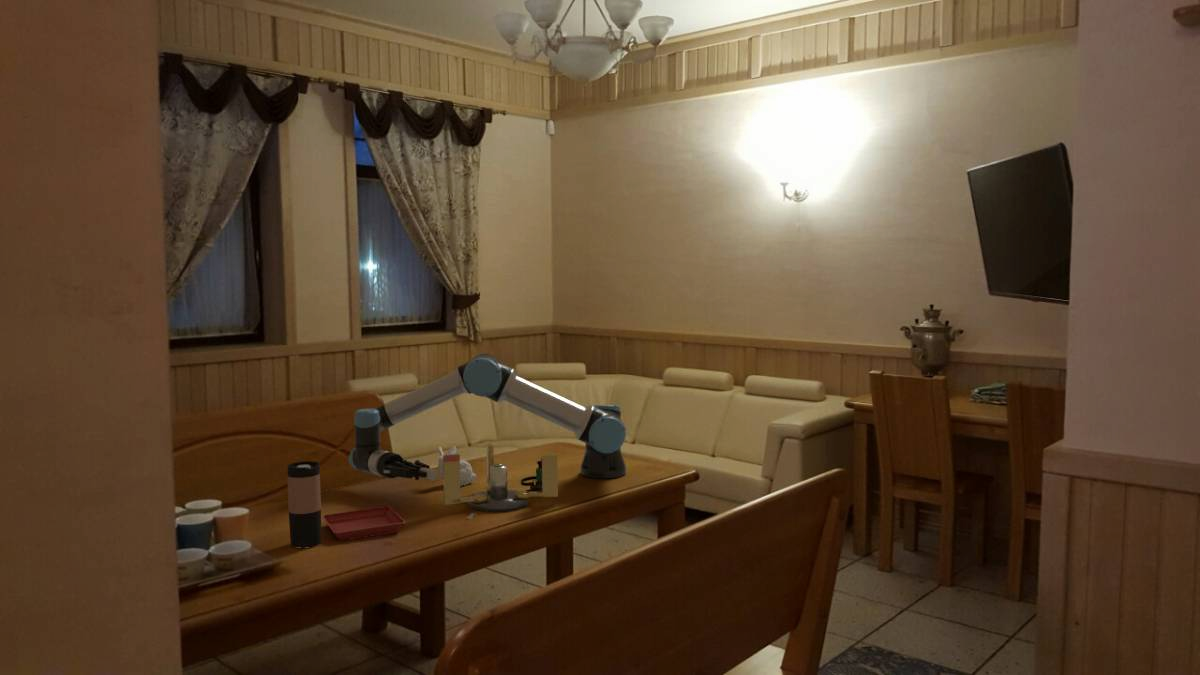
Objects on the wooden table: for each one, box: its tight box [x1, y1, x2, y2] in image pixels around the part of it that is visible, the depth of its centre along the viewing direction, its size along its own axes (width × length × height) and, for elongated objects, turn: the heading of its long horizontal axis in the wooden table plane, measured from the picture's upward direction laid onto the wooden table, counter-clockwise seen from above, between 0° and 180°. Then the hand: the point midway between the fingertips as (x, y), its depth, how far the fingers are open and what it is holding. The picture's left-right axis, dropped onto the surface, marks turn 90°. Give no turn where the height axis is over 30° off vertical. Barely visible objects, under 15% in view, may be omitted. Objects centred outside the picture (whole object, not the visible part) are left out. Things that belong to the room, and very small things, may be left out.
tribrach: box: [466, 443, 559, 520], centre depth 250 cm, size 27×32×14 cm
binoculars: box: [520, 457, 542, 492], centre depth 265 cm, size 9×11×10 cm
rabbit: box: [437, 445, 477, 487], centre depth 277 cm, size 12×9×12 cm
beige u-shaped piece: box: [442, 453, 488, 506], centre depth 246 cm, size 12×4×14 cm, turn 109°
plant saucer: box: [321, 505, 406, 541], centre depth 229 cm, size 18×18×3 cm
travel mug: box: [287, 460, 322, 549], centre depth 216 cm, size 8×8×20 cm
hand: (436, 475), depth 249 cm, fingers closed
